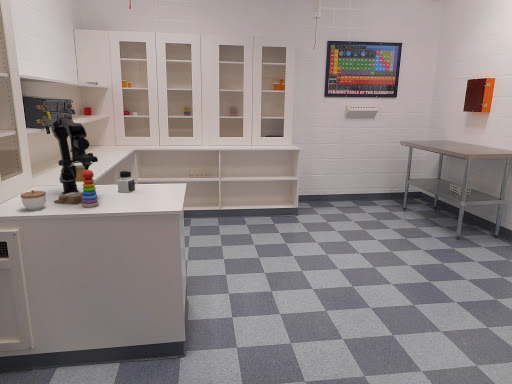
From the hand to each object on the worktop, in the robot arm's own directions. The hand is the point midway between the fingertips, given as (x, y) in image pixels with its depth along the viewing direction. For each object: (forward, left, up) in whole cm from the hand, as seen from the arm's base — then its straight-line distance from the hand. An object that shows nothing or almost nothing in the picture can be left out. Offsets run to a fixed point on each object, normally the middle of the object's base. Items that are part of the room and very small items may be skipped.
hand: (80, 176), depth 200 cm
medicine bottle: (+13, +22, -13) cm, 29 cm away
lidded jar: (-13, -20, -13) cm, 27 cm away
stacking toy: (+11, -10, -13) cm, 20 cm away
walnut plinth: (-4, -3, -13) cm, 13 cm away
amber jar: (0, 0, -2) cm, 2 cm away
